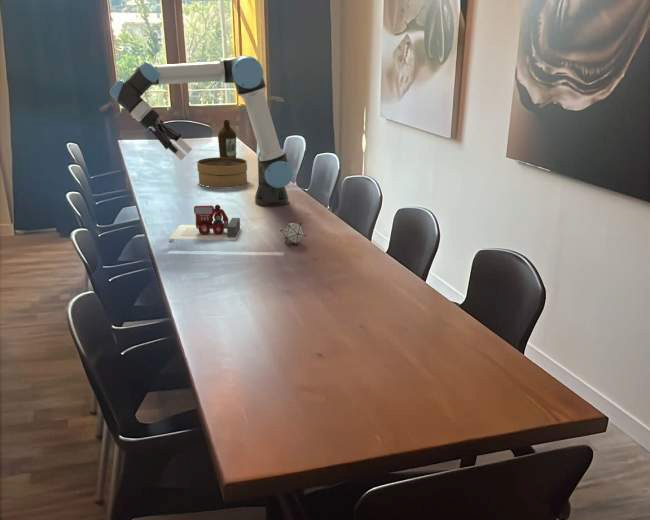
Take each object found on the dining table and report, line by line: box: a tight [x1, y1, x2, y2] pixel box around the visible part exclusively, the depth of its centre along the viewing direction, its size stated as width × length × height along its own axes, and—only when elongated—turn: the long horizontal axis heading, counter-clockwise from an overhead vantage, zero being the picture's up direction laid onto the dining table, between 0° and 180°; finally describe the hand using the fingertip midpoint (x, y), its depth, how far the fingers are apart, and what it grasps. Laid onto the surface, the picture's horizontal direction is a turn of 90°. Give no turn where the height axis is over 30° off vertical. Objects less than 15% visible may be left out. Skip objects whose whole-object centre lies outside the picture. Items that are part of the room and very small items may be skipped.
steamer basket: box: [196, 156, 248, 188], centre depth 315 cm, size 25×25×11 cm
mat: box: [168, 224, 242, 243], centre depth 234 cm, size 24×18×1 cm
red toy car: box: [193, 204, 229, 235], centre depth 232 cm, size 7×12×10 cm, turn 100°
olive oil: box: [217, 118, 237, 158], centre depth 364 cm, size 11×11×25 cm
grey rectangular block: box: [227, 217, 241, 238], centre depth 233 cm, size 3×12×4 cm, turn 179°
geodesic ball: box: [279, 220, 307, 247], centre depth 224 cm, size 9×8×10 cm
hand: (187, 154), depth 246 cm, fingers open, 13 cm apart
